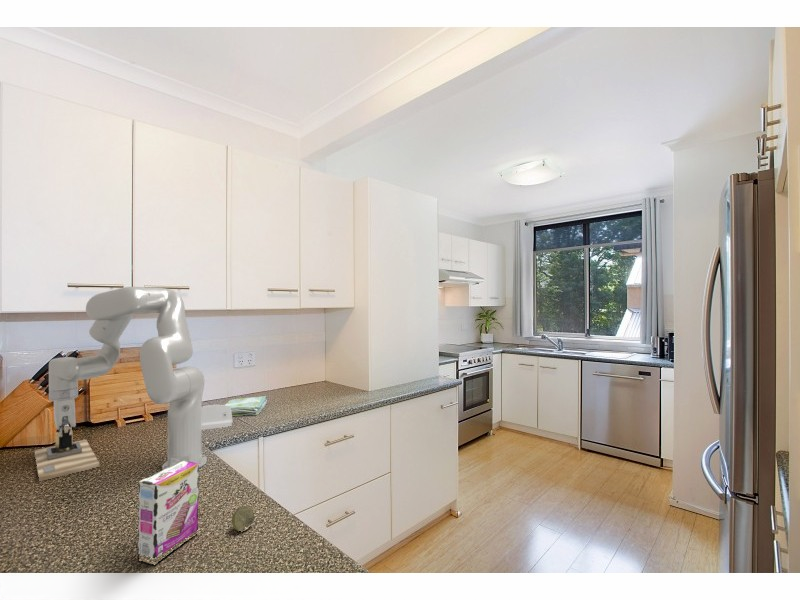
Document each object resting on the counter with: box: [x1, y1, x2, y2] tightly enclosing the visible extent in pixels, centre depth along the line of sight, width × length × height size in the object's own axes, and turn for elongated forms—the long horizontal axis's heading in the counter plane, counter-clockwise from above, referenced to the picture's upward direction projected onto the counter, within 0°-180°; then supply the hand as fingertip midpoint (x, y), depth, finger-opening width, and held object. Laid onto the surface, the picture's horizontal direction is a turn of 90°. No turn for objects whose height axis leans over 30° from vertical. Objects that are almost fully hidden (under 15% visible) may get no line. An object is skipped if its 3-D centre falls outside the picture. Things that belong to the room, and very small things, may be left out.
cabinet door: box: [33, 439, 100, 482], centre depth 128 cm, size 30×14×3 cm, turn 46°
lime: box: [231, 505, 255, 532], centre depth 89 cm, size 4×5×5 cm
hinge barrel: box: [54, 429, 74, 453], centre depth 131 cm, size 4×4×7 cm
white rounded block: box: [201, 404, 234, 431], centre depth 163 cm, size 17×5×10 cm, turn 112°
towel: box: [224, 395, 268, 417], centre depth 186 cm, size 18×21×5 cm
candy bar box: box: [137, 461, 200, 558], centre depth 82 cm, size 11×5×16 cm, turn 163°
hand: (64, 444), depth 131 cm, fingers open, 9 cm apart
